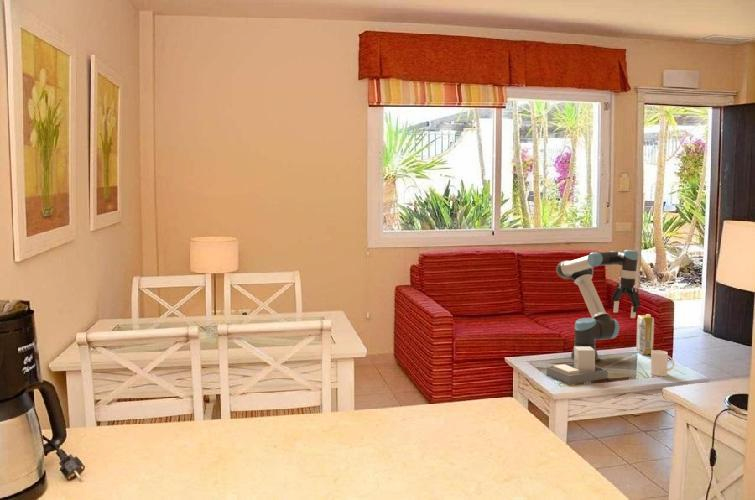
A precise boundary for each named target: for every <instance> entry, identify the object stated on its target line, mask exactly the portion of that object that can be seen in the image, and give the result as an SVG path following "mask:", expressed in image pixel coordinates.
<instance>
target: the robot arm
mask: <svg viewBox="0 0 755 500" xmlns="http://www.w3.org/2000/svg"><path fill="white" fill-rule="evenodd" d="M638 260H639V252H638V251H637V250H633V249H625V250H623V252H622V251H619V250H611V251H603V252H602V251H601V252H597V251H595V252H590V253H589V254H588V255H585V256H582V257H580V258H575V259H573V260H568V259H567V260H563V261H560V262H559V263H558V264H557V266H556V267H555V271H556V273H557V276H558V277H560V278H561V279H563V280H573V284H574V285H576V286H578V288H579V291H580V293H581V295H582V297H583V300H584V302H585V305H586V307H587V310H588V312H589V314H590V317H583V318H578V319H577V320H576V321H575V323H574V346H590V347H592V348H593V349H594V350H595V362H596V361H598V360H599V354H598V352H597V348H596V341H602V340H610V339H611V340H612V339H615V338H617V336H618V334H619V333H620V324H619V322H618V320H617V319H615V318H612V316H611V315H610V313H607V312H606V310H605V307H604V306H603V303H602V300H601V298H600V296H599V295H598V292H597V289H596V287H595V285H594V283H593V281H592V279H593V278H594V277H593V275H594V268H596V267H599V266H615V265H616V266H617V265H618V266H622V267H621V275H620V276H621V277H620V283H618V284H616V288H615V289H614V291H613V294H612V295H611V297H610V298H611V299H612V301H613V305H612V306H613V311H612V312H613V313H619V305H620V299H621V297H622V296H624V295H626V296H628V297H629V299H630V302H631V304H632V305H631V311H630V318H631V319H636V315H637V311H638V307H641V304H642V303H641V300H640V296H639V289H638V288H636V287H634V286H636V275H637V269H638V268H637V267H638ZM574 346H573V348H572V351H571V353H570V358H571V357H572V358H573V359H572V358H571V359H572V360H574Z"/></svg>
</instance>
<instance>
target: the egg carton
mask: <svg viewBox="0 0 755 500" xmlns="http://www.w3.org/2000/svg"><path fill="white" fill-rule="evenodd" d="M565 364H566V363H564V364H563V363H561V364H557V365H552V366H553V369H555V370H558V371H560V372H563V373H565V374H568V375H574V374H579V370H578V369H575V368H573V367H570V366H567V365H565Z"/></svg>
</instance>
